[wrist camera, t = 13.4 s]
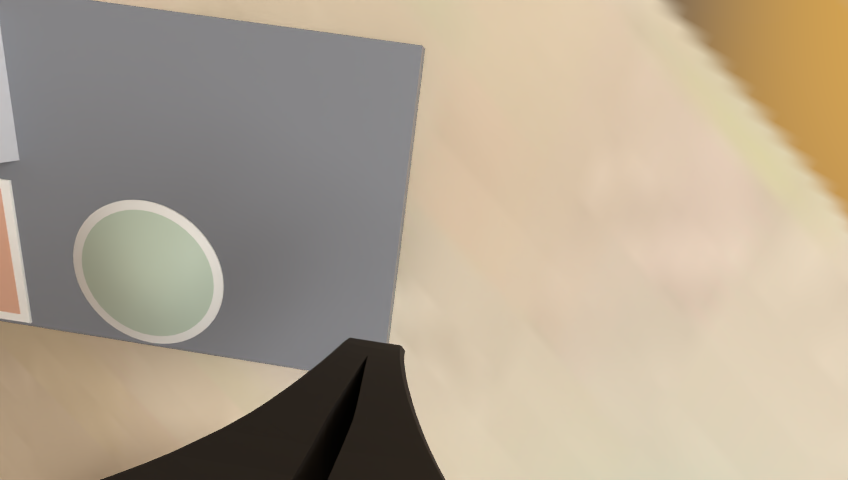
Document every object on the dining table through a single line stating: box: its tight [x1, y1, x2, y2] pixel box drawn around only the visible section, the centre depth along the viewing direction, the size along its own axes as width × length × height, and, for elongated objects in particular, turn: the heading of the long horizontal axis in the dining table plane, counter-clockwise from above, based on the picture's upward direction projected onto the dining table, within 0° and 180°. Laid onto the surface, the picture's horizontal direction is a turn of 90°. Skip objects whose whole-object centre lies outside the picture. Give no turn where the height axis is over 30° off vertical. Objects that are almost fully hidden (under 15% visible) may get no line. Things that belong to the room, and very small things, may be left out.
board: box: [0, 0, 425, 371], centre depth 18 cm, size 14×25×3 cm, turn 82°
